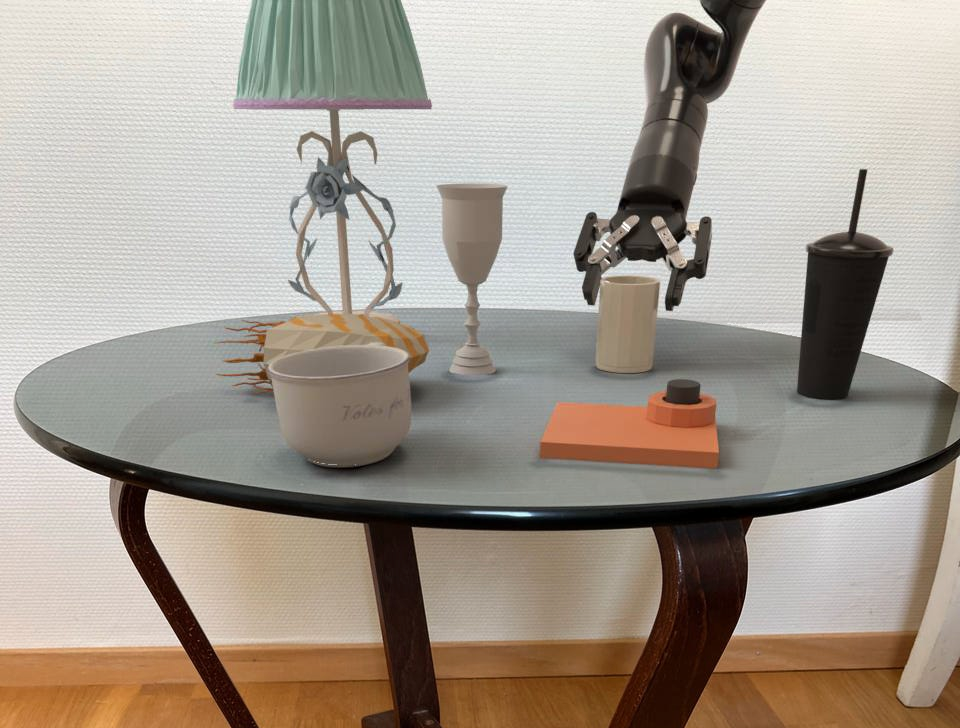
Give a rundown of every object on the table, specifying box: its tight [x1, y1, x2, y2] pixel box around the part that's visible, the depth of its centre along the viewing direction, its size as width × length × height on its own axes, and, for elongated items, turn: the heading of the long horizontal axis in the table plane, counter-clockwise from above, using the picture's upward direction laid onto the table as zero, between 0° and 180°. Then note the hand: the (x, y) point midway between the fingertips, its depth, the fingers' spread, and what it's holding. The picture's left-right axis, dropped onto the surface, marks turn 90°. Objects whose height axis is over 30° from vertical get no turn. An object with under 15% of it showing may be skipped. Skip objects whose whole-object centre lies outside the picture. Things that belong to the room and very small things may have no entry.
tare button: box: [665, 378, 702, 405], centre depth 80 cm, size 3×3×2 cm
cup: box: [595, 274, 661, 374], centre depth 101 cm, size 6×6×9 cm
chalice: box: [436, 182, 509, 376], centre depth 97 cm, size 7×7×18 cm
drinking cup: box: [796, 168, 894, 401], centre depth 88 cm, size 8×8×20 cm
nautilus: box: [213, 313, 430, 396], centre depth 91 cm, size 8×22×15 cm
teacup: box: [268, 342, 412, 468], centre depth 75 cm, size 14×11×8 cm
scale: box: [539, 391, 720, 469], centre depth 79 cm, size 14×12×3 cm
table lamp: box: [232, 0, 433, 323], centre depth 106 cm, size 22×22×40 cm
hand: (628, 303), depth 100 cm, fingers open, 8 cm apart
